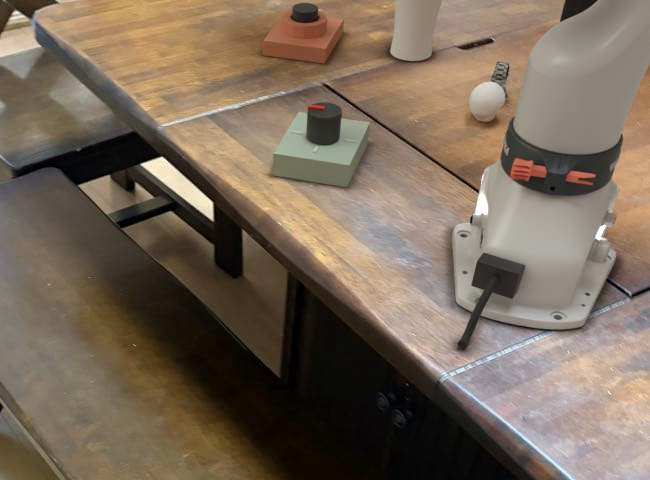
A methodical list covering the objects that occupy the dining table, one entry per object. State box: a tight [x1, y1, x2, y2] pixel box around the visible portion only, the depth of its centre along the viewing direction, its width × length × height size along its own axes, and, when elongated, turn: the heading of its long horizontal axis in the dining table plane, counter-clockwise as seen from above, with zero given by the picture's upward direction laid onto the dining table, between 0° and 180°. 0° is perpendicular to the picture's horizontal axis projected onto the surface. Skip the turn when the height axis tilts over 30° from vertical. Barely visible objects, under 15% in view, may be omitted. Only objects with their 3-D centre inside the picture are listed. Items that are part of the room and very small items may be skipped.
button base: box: [262, 9, 345, 64], centre depth 138 cm, size 12×10×4 cm
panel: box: [272, 111, 371, 188], centre depth 115 cm, size 12×10×3 cm
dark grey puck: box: [291, 2, 319, 23], centre depth 136 cm, size 4×4×2 cm
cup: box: [389, 0, 443, 62], centre depth 132 cm, size 10×10×14 cm
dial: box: [306, 101, 343, 145], centre depth 112 cm, size 4×4×4 cm
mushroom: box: [468, 81, 506, 123], centre depth 121 cm, size 5×5×5 cm
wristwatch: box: [489, 60, 511, 99], centre depth 126 cm, size 3×5×5 cm
